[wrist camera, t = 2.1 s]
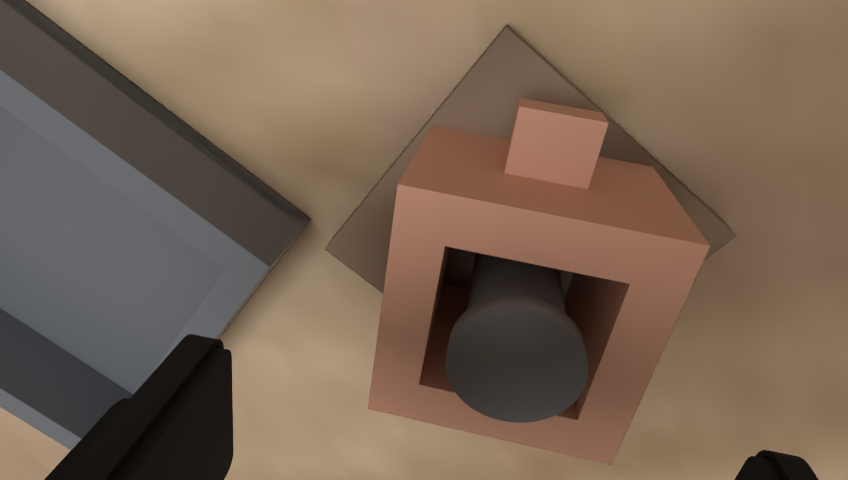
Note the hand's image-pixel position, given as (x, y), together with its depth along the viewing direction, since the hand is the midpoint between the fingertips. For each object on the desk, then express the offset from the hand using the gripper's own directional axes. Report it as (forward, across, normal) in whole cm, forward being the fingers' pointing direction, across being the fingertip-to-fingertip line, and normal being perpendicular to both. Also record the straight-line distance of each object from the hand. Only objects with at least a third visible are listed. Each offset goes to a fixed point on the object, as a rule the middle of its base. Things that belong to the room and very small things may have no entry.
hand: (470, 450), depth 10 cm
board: (+9, -1, 0) cm, 9 cm away
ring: (+8, -1, 0) cm, 8 cm away
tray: (+10, +15, +3) cm, 18 cm away
